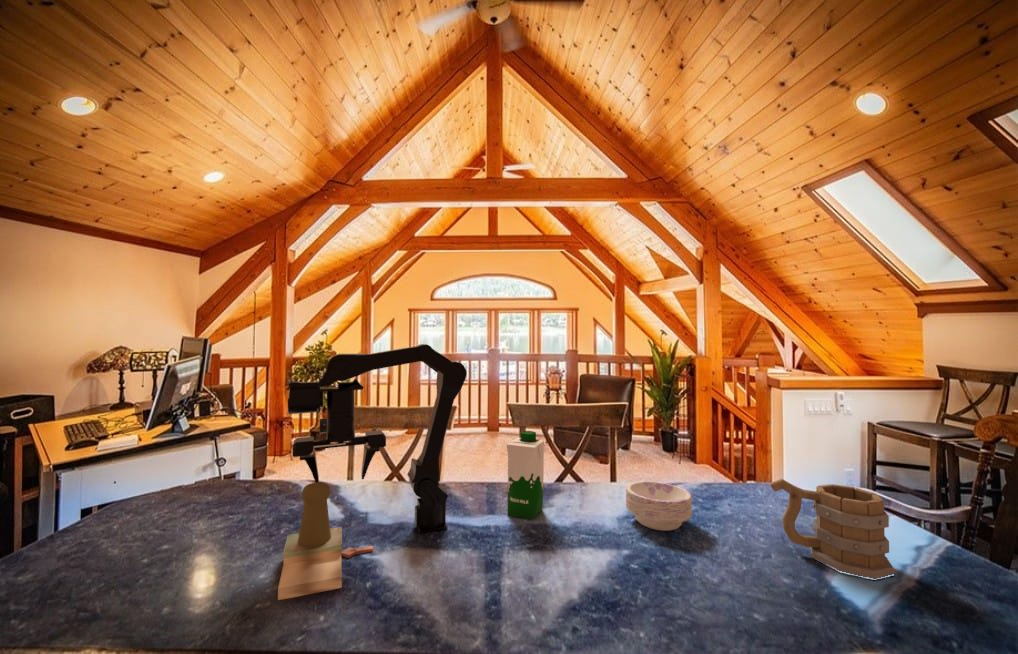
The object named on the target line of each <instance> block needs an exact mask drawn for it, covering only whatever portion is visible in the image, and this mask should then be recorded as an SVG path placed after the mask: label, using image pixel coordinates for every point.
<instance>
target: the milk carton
mask: <svg viewBox="0 0 1018 654" xmlns="http://www.w3.org/2000/svg"><path fill="white" fill-rule="evenodd" d="M506 450H507V451H506V452H507V514H506V515H507V516H509V515H511V516H510V517H514V516H516V518H520V517H522V518H521V519H525V518H528V519H527V520H531V519H532V520H531V521H534V520H535V519H536V517H537V516H538V515H539V514H540V513H541V512H542V510H543V502H544V470H545V468H544V463H545V462H544V461H545V459H544V456H545V455H544V454H545V440H544V439H543V440H542V439H541V440H540V439H537V432H535V431H532V430H523V431H520V437H517V438H515V439H513V440H510V441H509V442H508V443H507V444H506ZM539 512H540V513H539ZM534 518H535V519H534ZM533 519H534V520H533Z"/></svg>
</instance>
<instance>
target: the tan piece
mask: <svg viewBox="0 0 1018 654" xmlns="http://www.w3.org/2000/svg"><path fill="white" fill-rule="evenodd" d="M342 529H343V528H342V526H339V527H333V528H330V533H331V539H330V540H329V541H328V542H326V543H325V544H322V545H319V546H315V547H303V546H300V545H298V537H299V533H294V534H287V538H286V541H285V544H284V548H283V553H282V559H283V566H282V570H281V574H280V575H281V576H280V579H279V583H278V588H277V601H282V600H287V599H292V598H297V597H302V596H306V595H307V596H308V595H311V594H317V593H322V592H327V591H333V590H336V589H337V590H338V589H342V585H343V583H342V582H343V581H342V580H343V573H342V567H343V566H342V557H345V558H347V559H351V558H352V557H354V556H355V555H358V554H364V553H365V554H366V553H370V552H373V551H374V547H373V545H369V546H365V547H364V546H363V547H357V548H354V547H350V546H349V547H347V548H345V549H344V550H342V549H343V532H342V531H343V530H342Z"/></svg>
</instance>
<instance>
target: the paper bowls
mask: <svg viewBox="0 0 1018 654" xmlns="http://www.w3.org/2000/svg"><path fill="white" fill-rule="evenodd" d="M692 501H693V499H692V494H691V493H690V492H689V491H688V490H687V489H684V488H683V487H680V486H677V485H674V484H669V483H664V482H658V481H647V480H644V481H636V482H632V483H629V484H627V485H626V487H625V507H626V510H628V512H630V513H631V514H632V515H634V517H635V520H636V521H637V522H638V523H639V524H640V525H642V526H643V527H645V528H649V529H651V530H656V531H662V532H666V531H675V530H677V529H679V528H680V527H681V525H682V523H683V522H687V521H689V520H690V519H691V518H692V514H693V512H692V507H693V506H692V505H693V504H692V503H693V502H692Z"/></svg>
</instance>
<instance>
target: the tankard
mask: <svg viewBox="0 0 1018 654" xmlns="http://www.w3.org/2000/svg"><path fill="white" fill-rule="evenodd" d="M769 485H770V488H771V489H772V490H773V492H778V491H781V490H784V491H785V492H787V493H788V494H789V496H788V505H787V507H786V509H785V512H783V516H782V528H783V530H784V533H785V534H786V536H787V537H788V539H789V541H790V543H793V544H796V545H800V546H801V547H807V548H809V551H810V550H811V551H810V553H812V554H811V555H813V556H812V559H813V558H814V559H817V560H819V561H822V562H823V563H826V564H828V565H830V566H832V567H834V568H836V569H837V570H839V571H842V572H846V573H850V574H854V575H858V576H863V577H869V578H873V579H877V578H881V577H885V576H888V575H892V574H895V575H896V573H895V571H896V570H895V568H894V567H893V565H892V563H891V562H890V561H889V559H888V558H887V556H886V554H889V553H890V540H888V538H887V537H886V535H885V534H886V533H885V528H889V527H890V525H889V523H890V521H889V520H890V517H889V516H890V515H888V513H887V512H886V511H885V501H884V500H883V499H882V498H881V496H879V495H878V494H876V493H874V492H871V491H869V490H865V489H861V488H859V487H853V486H848V485H847V486H846V485H843V484H841V485H840V484H834V483H833V484H831V483H830V484H829V483H828V484H822V485H817V486H816V490H810V489H809V490H808V489H803V488H800V487H798V486H797V485H794V484H792V483H790V482H788V481H787V480H785V479H784V478H779V479H777V480H774V481H772V482H770V483H769ZM803 499H805V500H810V501H812V508H813V510H814V512H815V514H816V518H814V519H813V520H812V521H813V524H812V525H813V527H812V528H813V532H814V534H815V535H803V534H801V533H799V532H797V529H796V526H795V525H796V523H795V522H796V520H797V518H798V516H799V514H800V512H801V508H802V500H803ZM814 559H813V560H814Z"/></svg>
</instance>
